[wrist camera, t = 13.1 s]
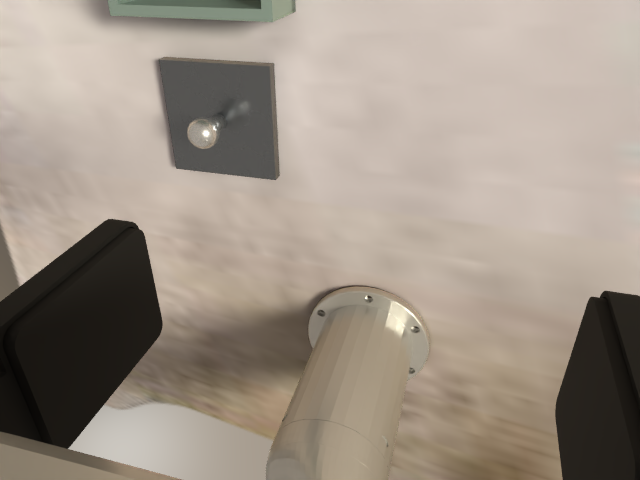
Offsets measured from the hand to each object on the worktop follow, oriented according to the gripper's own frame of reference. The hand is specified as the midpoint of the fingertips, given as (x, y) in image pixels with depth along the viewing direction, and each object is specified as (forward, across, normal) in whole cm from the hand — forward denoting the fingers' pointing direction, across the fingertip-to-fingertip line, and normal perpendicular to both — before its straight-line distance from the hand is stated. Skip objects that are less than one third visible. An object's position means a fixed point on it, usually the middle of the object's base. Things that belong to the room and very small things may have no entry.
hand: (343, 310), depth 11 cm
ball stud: (+33, +19, +8) cm, 39 cm away
